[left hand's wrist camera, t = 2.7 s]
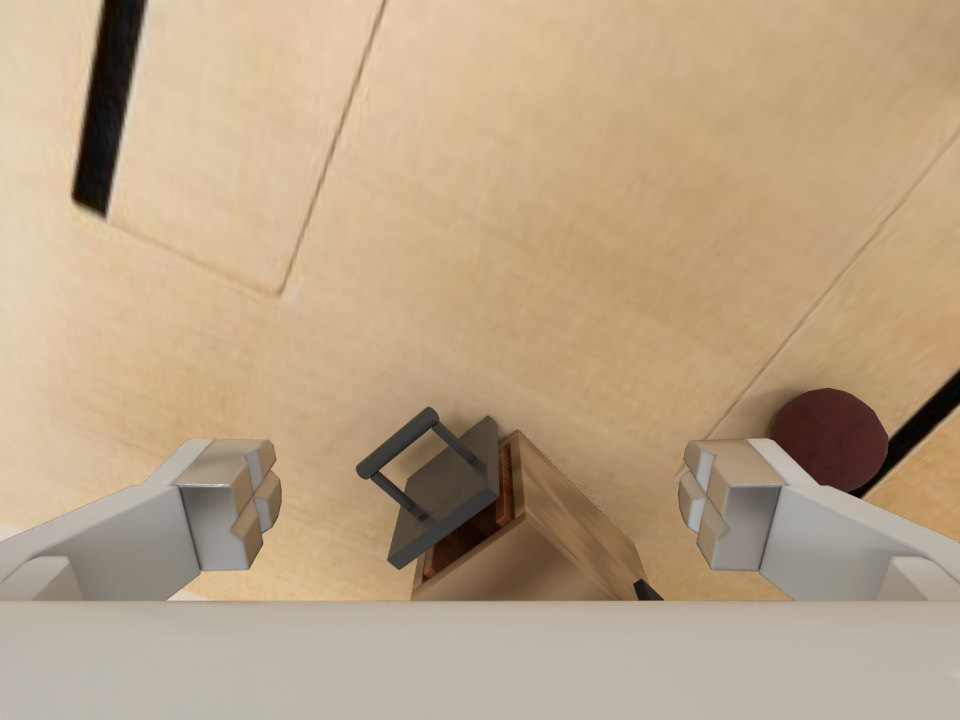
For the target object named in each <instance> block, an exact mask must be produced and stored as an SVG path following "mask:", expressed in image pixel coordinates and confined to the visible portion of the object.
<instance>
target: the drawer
mask: <svg viewBox="0 0 960 720" xmlns="http://www.w3.org/2000/svg"><path fill="white" fill-rule="evenodd" d="M431 427H432V430H433V431H434V432H436V433H437V434H438V435H439V436H440V437H441V438H442V439H443V440H444V441H445V442H446V443H447V444H448V445H449V447H447V448H446V449H445V450H444V451H442V452H441V453H440V454H438V455H437V456H436V457H435V458H433V459H432V460H431V461H430V462H428V463H427V464H426V465H425V466H423V467H422V468H421V469H420V470H418V471H417V472H416V473H414V474H413V475H412V476H411V477H409V478H408V479H407V483H406V487H405V491H404V493H403V492H402V491H401V490H400V489H399V488H398V487H397V486H395V485H394V484H393V483H392V482H391V481H390V480H388V479H387V478H386V477H385V476H384V475H383V474H382V473H380V472H379V470H380V469H381V468H382V467H384V466H385V465H386V464H387V463H388V462H390V461H391V460H392V459H393V458H395V457H396V456H397V455H398V454H399V453H401V452H402V451H403V450H404V449H406V448H407V447H408V446H409V445H411V444H412V443H413V442H414V441H415V440H417V439H418V438H419V437H420V436H422V435H423V434H424V433H425V432H426V431H428V430H429V429H430V428H431ZM356 471H357V473H358V475H359V476H360V477H361V478H363V479H369V478H370V477H371V478H370V479H371V480H372V481H373V482H375V483H376V484H377V485H378V486H379V487H380V488H382V489H383V490H384V491H385V492H386V493H387V494H389V495H390V496H391V497H392V498H393V499H394V500H396V501H397V502H398V503H399V504H400V505H401V507H400V511H399V515H398V519H397V523H396V527H395V531H394V535H393V539H392V543H391V547H390V551H389V555H388V559H387V561H388V562H389V563H391V564H392V565H393V566H394V567H396V568H397V569H398V570H400V569H402V568H403V567H404V566H406V565H407V564H409V563H410V562H411V561H413V560H414V559H415V558H417V557H418V556H420V555H421V554H422V553H424V552H425V551H426V550H427V555H426V562H425V568H424V575H426V576H427V577H428V578H429V579H430V578H432V577H433V576H434V575H436V574H437V573H439V572H440V571H442V570H443V569H444V568H446V567H447V566H449V565H450V564H451V563H453V562H454V561H456V560H457V559H459V558H460V557H461V556H463V555H464V554H466V553H467V552H469V551H470V550H471V549H473V548H474V547H476V546H477V545H478V544H480V543H481V542H483V541H484V540H486V539H487V538H488V537H490V536H491V535H493V534H494V533H495V532H497V531H498V530H500V529H501V528H503V527H504V526H505V525H507V524H508V523H510V522H511V521H512V520H514V519H515V510H514V495H513V479H512V464H511V453H510V452H509V451H508V450H507V449H506V448H505V447H504V446H503V445H501V446H500V447H499V448H498V425H497V424H496V423H495V422H494V421H493V420H492V419H491V418H490V417H489V416H487V417H485V418H484V419H483V420H481V421H480V422H479V423H478V424H476V425H475V426H474V427H473V428H471V429H470V430H469V431H468V432H466V433H465V434H464V435H462V436H461V437H460V438H459V439H458V438H456V437H455V436H454V435H453V434H452V433H451V432H450V431H449V430H448V429H447V428H446V427H445V426H444V425H443V424H442V423H441V422H440V421H439V416H438V414H437V413H436V411H435V410H434V409H432V408H431V407H427V408H425V409H424V410H423V411H422V412H421V413H419V414H418V415H417V416H416V417H415V418H413V419H412V420H411V421H410V422H408V423H407V424H406V425H405V426H404V427H402V428H401V429H400V430H399V431H398V432H396V433H395V434H394V435H393V436H392V437H390V438H389V439H388V440H387V441H386V442H384V443H383V444H382V445H381V446H380V447H378V448H377V449H376V450H375V451H374V452H372V453H371V454H370V455H369V456H368V457H366V458H365V459H364V460H363V461H362V462H360V463H359V464H358V465H357V467H356Z"/></svg>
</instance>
